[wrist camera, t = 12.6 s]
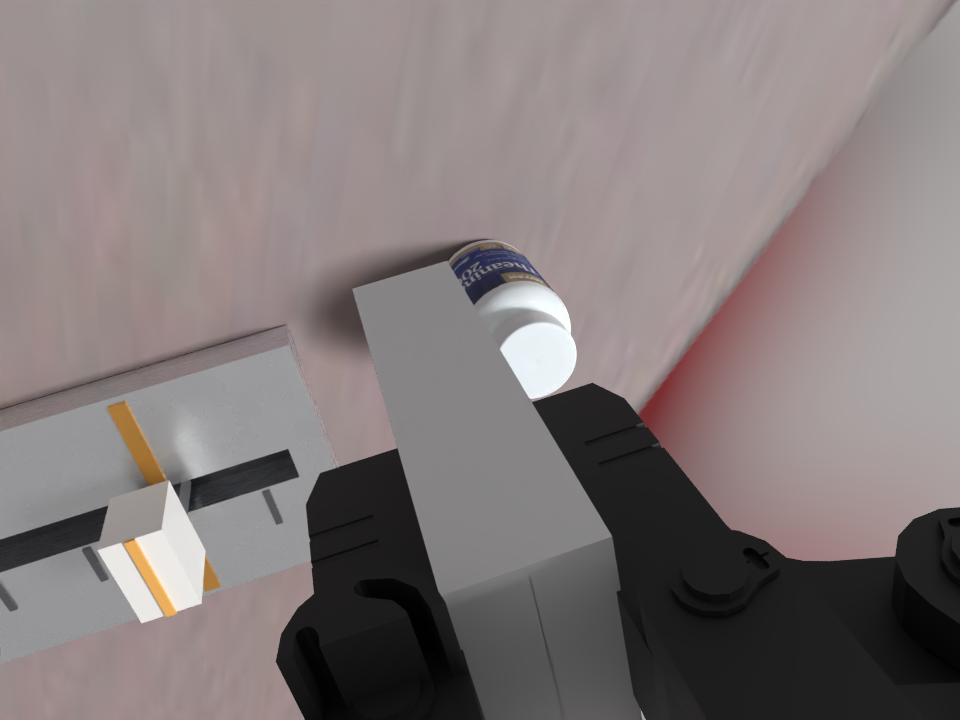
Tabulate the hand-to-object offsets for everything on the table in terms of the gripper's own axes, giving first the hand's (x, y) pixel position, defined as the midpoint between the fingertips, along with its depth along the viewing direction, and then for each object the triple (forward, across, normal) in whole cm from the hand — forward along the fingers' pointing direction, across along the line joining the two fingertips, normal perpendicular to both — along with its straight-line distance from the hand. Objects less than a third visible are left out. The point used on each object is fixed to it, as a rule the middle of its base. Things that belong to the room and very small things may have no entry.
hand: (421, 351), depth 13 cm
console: (+29, -19, -19) cm, 40 cm away
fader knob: (+29, -14, -19) cm, 38 cm away
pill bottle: (+30, +6, -13) cm, 33 cm away
